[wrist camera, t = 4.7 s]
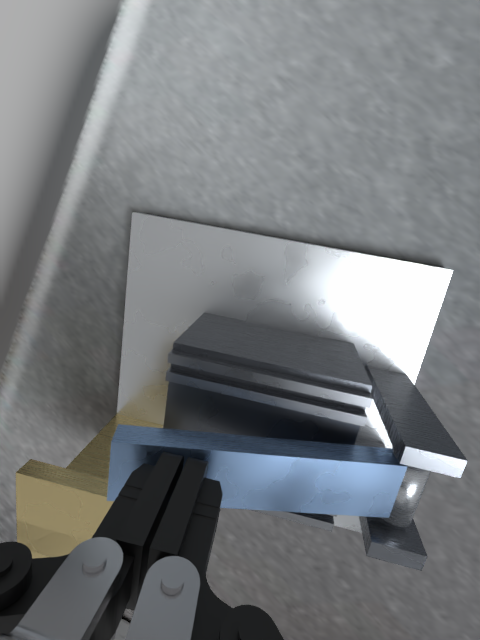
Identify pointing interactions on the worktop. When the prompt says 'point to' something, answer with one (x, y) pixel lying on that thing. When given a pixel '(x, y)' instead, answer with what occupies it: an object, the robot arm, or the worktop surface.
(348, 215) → the worktop surface
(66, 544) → the block
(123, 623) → the electronic device
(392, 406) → the clip base
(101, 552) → the robot arm
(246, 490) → the blue bar
